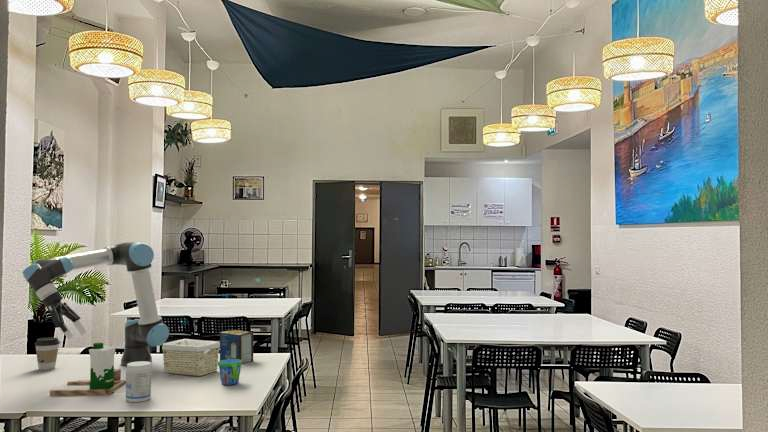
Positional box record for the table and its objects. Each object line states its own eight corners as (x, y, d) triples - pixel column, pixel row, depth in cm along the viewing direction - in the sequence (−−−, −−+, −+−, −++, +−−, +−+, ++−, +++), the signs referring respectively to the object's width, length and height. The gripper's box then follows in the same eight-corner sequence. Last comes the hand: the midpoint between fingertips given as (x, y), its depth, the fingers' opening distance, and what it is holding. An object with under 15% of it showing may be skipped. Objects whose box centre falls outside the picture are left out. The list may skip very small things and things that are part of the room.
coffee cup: (28, 370, 305) (29, 339, 305) (48, 365, 315) (49, 336, 316) (44, 372, 300) (45, 341, 301) (64, 367, 311) (65, 337, 311)
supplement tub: (121, 400, 248) (121, 363, 248) (143, 395, 255) (143, 360, 256) (133, 404, 242) (133, 366, 242) (155, 399, 249) (156, 363, 249)
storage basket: (160, 373, 297) (160, 343, 298) (183, 367, 312) (183, 338, 312) (199, 378, 287) (199, 346, 288) (221, 371, 302) (221, 341, 303)
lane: (125, 385, 273) (125, 380, 273) (110, 394, 256) (110, 390, 256) (68, 385, 272) (68, 381, 272) (49, 395, 255) (49, 390, 255)
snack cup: (214, 381, 280) (214, 359, 281) (237, 379, 285) (237, 357, 285) (221, 388, 266) (221, 365, 267) (245, 386, 271) (245, 363, 271)
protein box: (234, 357, 336) (234, 329, 336) (253, 361, 327) (253, 332, 327) (219, 361, 327) (219, 331, 328) (238, 364, 318) (238, 334, 319)
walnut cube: (120, 379, 280) (120, 368, 280) (116, 382, 275) (116, 371, 275) (109, 380, 280) (109, 369, 280) (104, 382, 275) (105, 371, 275)
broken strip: (124, 381, 280) (125, 379, 280) (120, 384, 275) (120, 382, 275) (78, 382, 279) (78, 380, 279) (73, 384, 274) (73, 382, 274)
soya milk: (99, 387, 269) (100, 341, 270) (117, 388, 268) (118, 342, 268) (85, 392, 261) (86, 344, 262) (104, 393, 259) (105, 345, 260)
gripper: (55, 298, 280) (82, 336, 280) (28, 303, 255) (57, 344, 255) (69, 289, 281) (96, 326, 281) (43, 292, 256) (73, 334, 256)
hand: (78, 335), depth 268 cm, fingers open, 13 cm apart
